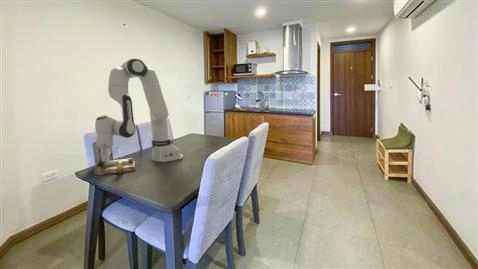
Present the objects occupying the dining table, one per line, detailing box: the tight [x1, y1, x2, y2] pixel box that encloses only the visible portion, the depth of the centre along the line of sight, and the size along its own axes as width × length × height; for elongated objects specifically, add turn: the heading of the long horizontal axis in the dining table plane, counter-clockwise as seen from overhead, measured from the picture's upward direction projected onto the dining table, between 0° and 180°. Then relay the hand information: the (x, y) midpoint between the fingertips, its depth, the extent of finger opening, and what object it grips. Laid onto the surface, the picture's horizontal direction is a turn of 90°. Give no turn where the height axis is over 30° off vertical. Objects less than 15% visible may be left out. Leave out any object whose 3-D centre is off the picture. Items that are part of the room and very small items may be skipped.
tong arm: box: [98, 159, 129, 167], centre depth 149 cm, size 17×2×2 cm, turn 114°
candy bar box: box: [92, 141, 114, 167], centre depth 155 cm, size 11×5×16 cm, turn 168°
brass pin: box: [116, 162, 124, 176], centre depth 141 cm, size 3×3×7 cm
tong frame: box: [98, 157, 134, 163], centre depth 150 cm, size 20×3×3 cm, turn 114°
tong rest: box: [93, 160, 136, 176], centre depth 148 cm, size 22×13×2 cm, turn 114°
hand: (106, 164), depth 145 cm, fingers closed
